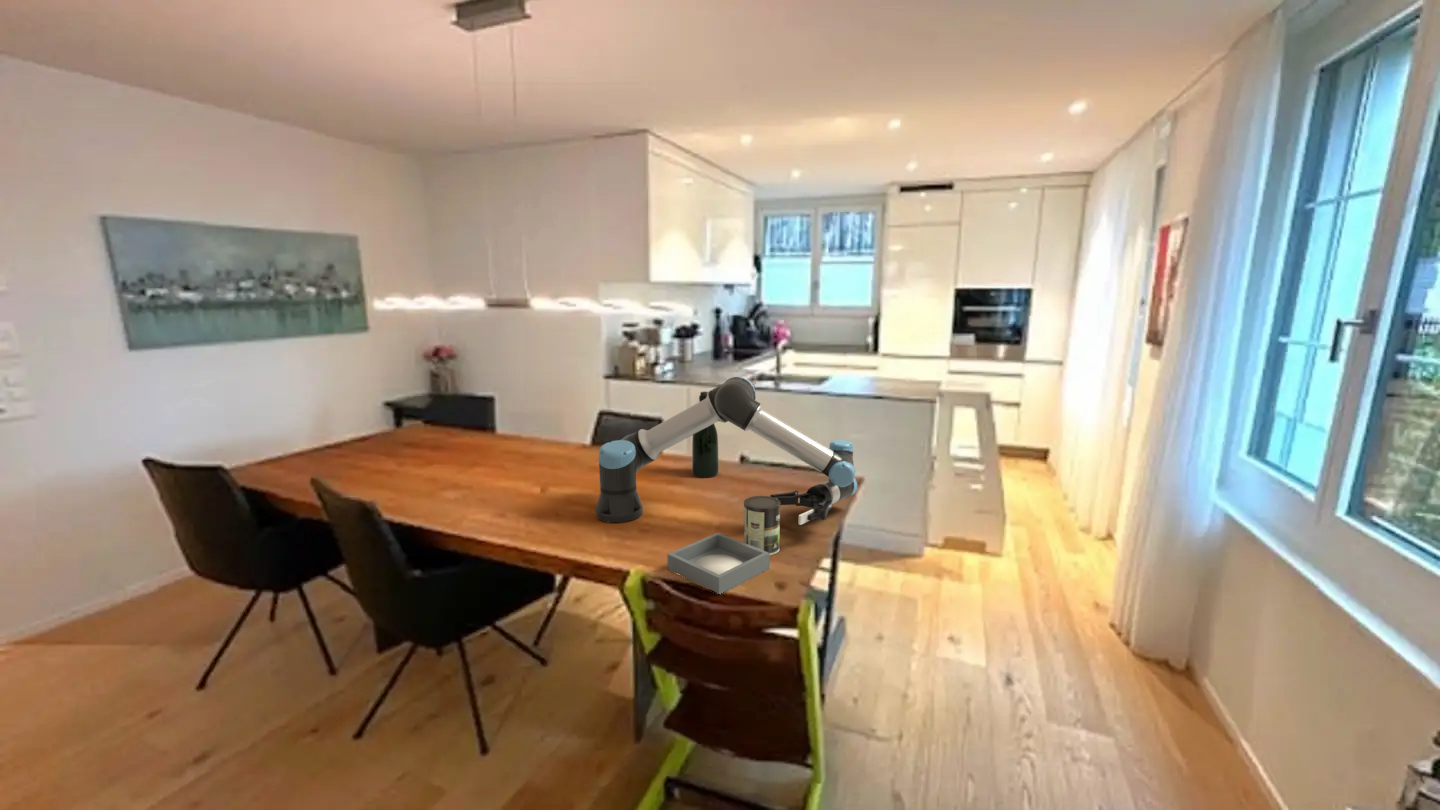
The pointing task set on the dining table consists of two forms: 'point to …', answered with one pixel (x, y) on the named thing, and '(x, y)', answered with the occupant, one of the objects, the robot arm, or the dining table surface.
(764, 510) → the coffee can
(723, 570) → the walled box
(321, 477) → the dining table surface
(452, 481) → the dining table surface
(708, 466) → the beer bottle
